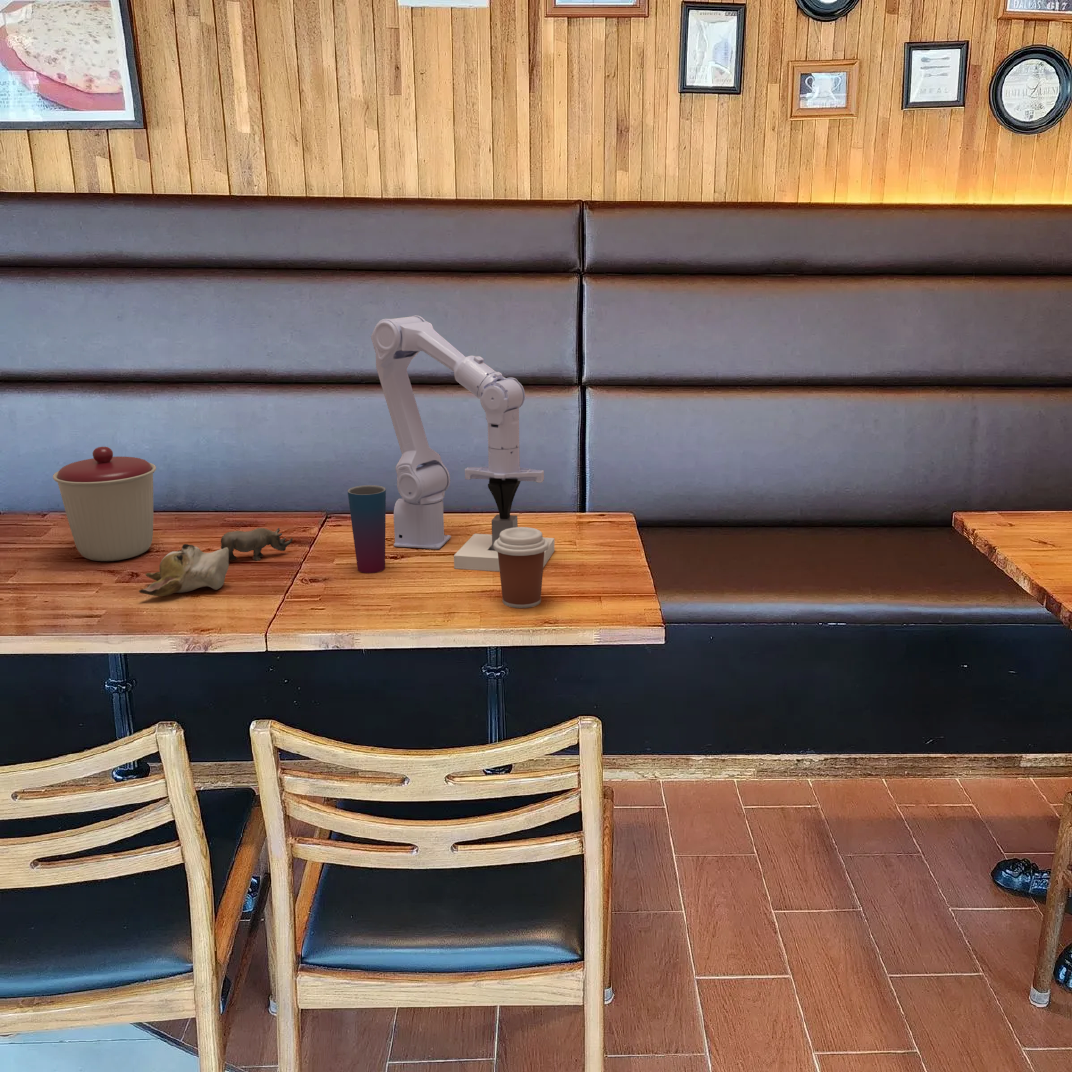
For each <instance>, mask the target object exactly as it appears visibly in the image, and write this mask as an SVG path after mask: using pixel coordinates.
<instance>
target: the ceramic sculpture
mask: <svg viewBox="0 0 1072 1072" xmlns="http://www.w3.org/2000/svg"><path fill="white" fill-rule="evenodd" d="M228 561H230V560H229V549H228V548H227V547H226V548H224V549H221V548H219V549H218V550H215V551H211V552H204V551H202V550H201V549H200V548H199V547H198V546H195V545H193V544H188V543H184V544H182V546H181V550H177V551H175V550H174V551H171V552H169V553H167V554H166V555H165V556H164V557H163V558H162V559H161V561H160V564H159V569H158V570H159V571H156V572H146V573H145V576H146V577H147V578H149V579H152V580H153V581H154V582H152V583H150V584H149V585H148V586H147V587H144V588H141V589H140V590H138V592H139V593H140V594H144V595H149V596H154V597H155V596H157V597H165V596H166V597H167V596H170V595H173V594H175V593H178V594H181V593H188V592H192V591H194V590H197V589H199V588H204V587H209V588H211V589H212V590H216V591H217V590H219V589H221V588H223V586H224V584H225V579H226V575H227V572H228V571H229V564H230V563H229V564H228Z"/></svg>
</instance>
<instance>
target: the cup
mask: <svg viewBox="0 0 1072 1072" xmlns="http://www.w3.org/2000/svg"><path fill="white" fill-rule="evenodd" d="M386 495H387V489H386V487H385V486H381V485H374V484H371V485H370V484H365V485H357V486H353V487H350V488H348V489H347V498H348V504H349V512H350V513H349V515H350V520H351V530H352V536H353V544H354V553H355V559H356V560H355V561H356V566H357V567H356V569H357V571H358V572H360V573H364V574H375V573H380V572H382V571H384V570H385V569H386V522H387V521H386V519H387V518H386V517H387V516H386V513H387V511H386V510H387V507H386V505H387V503H386V502H387V501H386V497H387V496H386Z"/></svg>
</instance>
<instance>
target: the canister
mask: <svg viewBox="0 0 1072 1072" xmlns="http://www.w3.org/2000/svg"><path fill="white" fill-rule="evenodd" d="M92 457H93V458H87V459H83V460H78V461H74V462H72V463H69V464H66V465H65V466H64V465H63V466H62V467H61V468H60V469H59V470H58V471H56V472H54V474H53V475H52V479H53V480H54V481H55V482H56V483H57V485H58V489H59V492H60V497H61V501H62V503H63V507H64V511H65V514H66V518H67V522H68V524H69V525H68V526H69V528H70V531H71V535H72V538H73V542H74V544H75V548H76V550H77V552H78V553H79V554H80V555H81V556H82V557H83V558H85V559H87V560H90V561H95V562H96V561H97V562H114V561H115V562H116V561H122V560H126V559H131V558H135V557H139V556H141V555H142V554H143V553H145V552H147V551H148V550H149V549H150V547H151V546H152V543H153V536H154V473H155V472H156V471H157V466H156V465H155V464H154V463H151V462H148V460H145V459H142V458H140V457H133V456H114V452H113V450H112V449H111V448H110V447H108V446H98V447H96V448H94V450H93V451H92Z"/></svg>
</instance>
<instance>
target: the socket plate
mask: <svg viewBox="0 0 1072 1072" xmlns="http://www.w3.org/2000/svg"><path fill="white" fill-rule="evenodd" d="M543 538H544V539H546V540H547V541H548V542H549V547H548V550H546V551H544V564H543V569H544V567H545V566H546V565H547V563H548V561H549V560H550V558H551V557H552V555H553V553H554V552H555V537H543ZM453 568H454V569H456V570H457V569H459V570H471V571H473V570H474V571H484V572H485V571H487V572H500V570H499V560H498V552H497V551H492V534H490V533H489V534H487V533H474V534H472V536H471V537H470V538H469V539H468V540H467V541H466V542H465V543H464V544H463V545H462V546H461V547H460V548H459V549H458V550H457V552H455V553H454V555H453Z"/></svg>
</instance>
